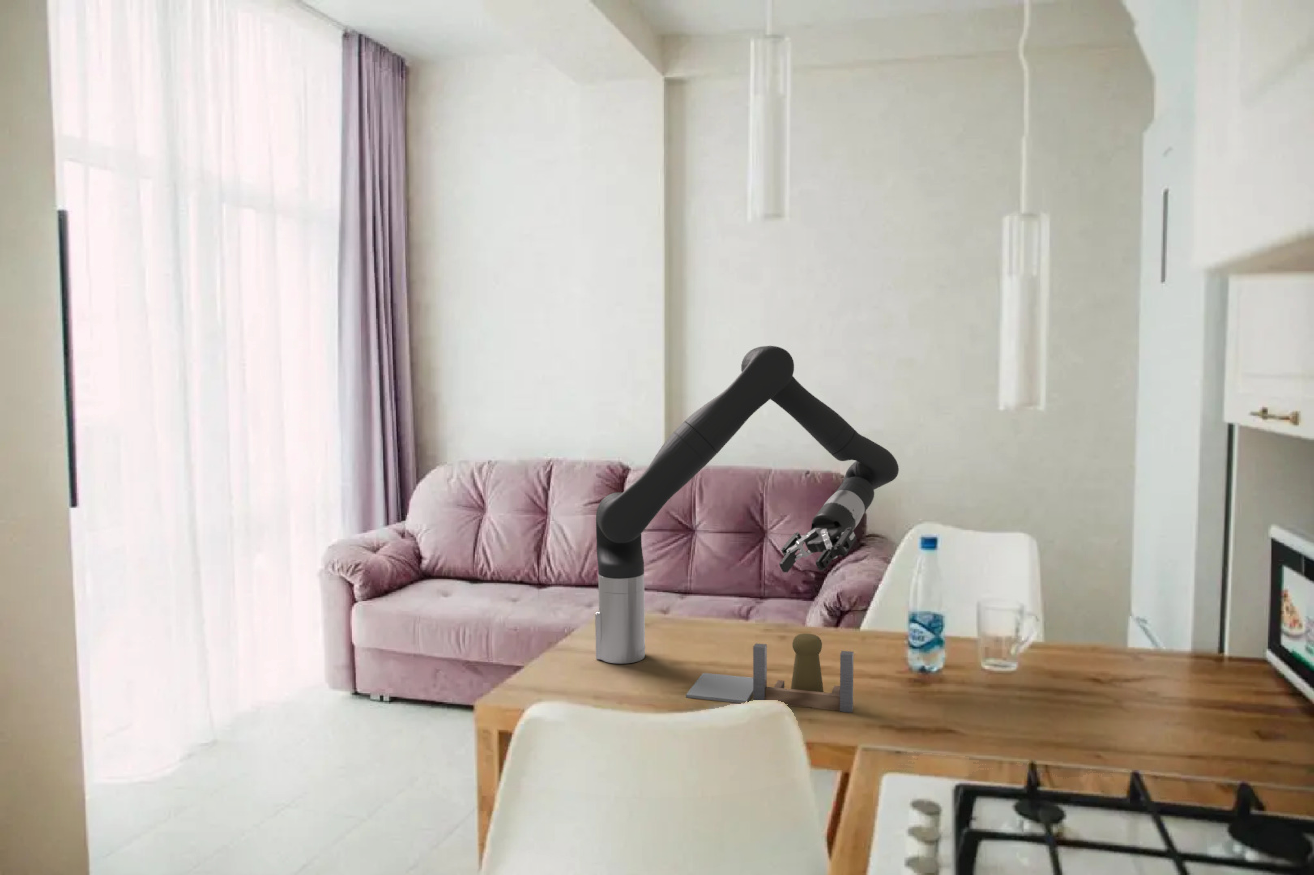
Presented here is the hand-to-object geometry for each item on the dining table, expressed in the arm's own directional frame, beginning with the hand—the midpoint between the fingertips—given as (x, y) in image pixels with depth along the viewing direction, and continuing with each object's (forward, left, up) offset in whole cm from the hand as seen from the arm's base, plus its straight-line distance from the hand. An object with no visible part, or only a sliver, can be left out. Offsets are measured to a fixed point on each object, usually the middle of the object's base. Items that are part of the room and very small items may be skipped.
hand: (800, 568), depth 173 cm
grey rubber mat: (-13, -9, -21) cm, 26 cm away
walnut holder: (+2, -10, -21) cm, 24 cm away
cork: (+2, -8, -21) cm, 23 cm away
